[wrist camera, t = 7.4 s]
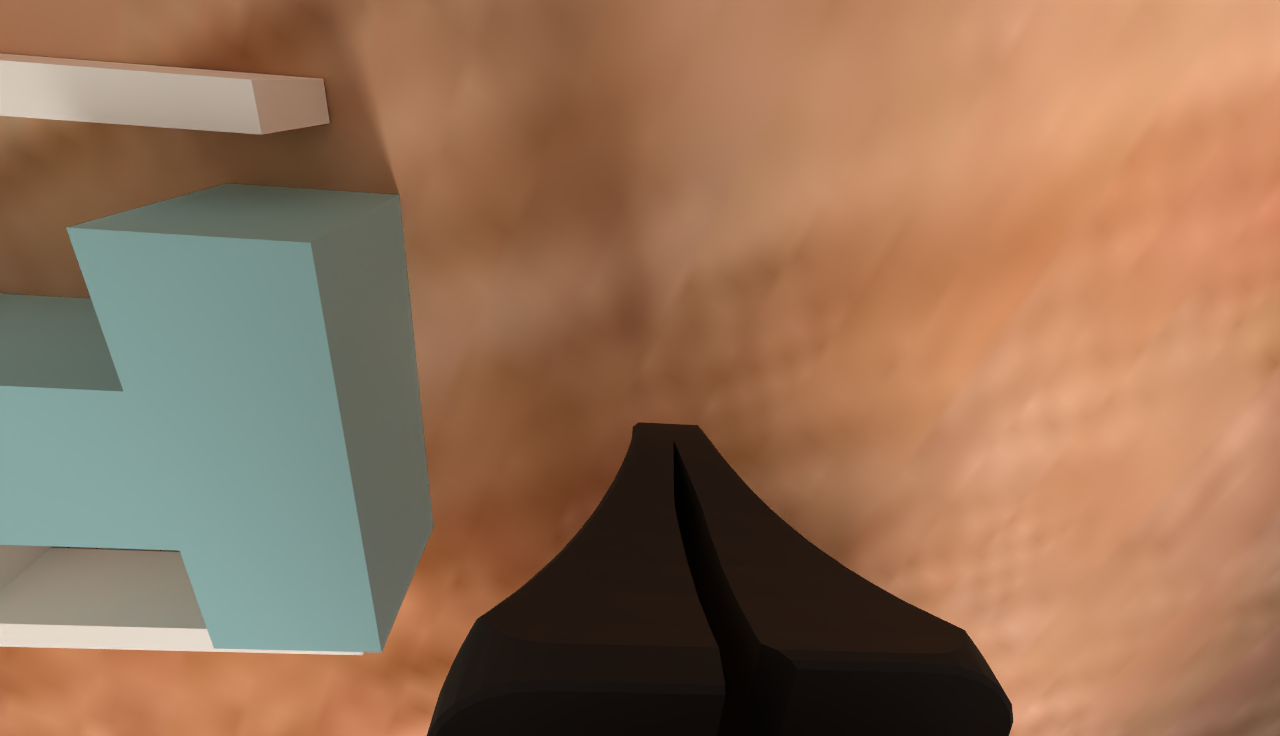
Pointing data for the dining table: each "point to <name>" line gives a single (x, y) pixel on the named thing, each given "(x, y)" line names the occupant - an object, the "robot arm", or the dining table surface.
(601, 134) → the dining table surface
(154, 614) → the white u-shaped bracket
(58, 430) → the t block
